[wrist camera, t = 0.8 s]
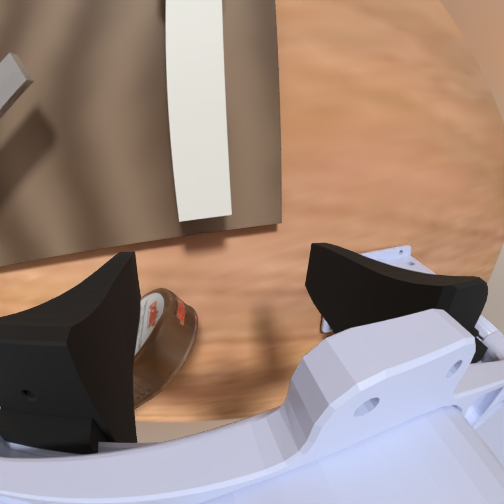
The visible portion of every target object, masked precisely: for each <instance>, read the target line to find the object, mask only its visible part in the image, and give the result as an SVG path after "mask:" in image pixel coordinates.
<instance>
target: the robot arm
mask: <svg viewBox="0 0 504 504" xmlns="http://www.w3.org/2000/svg"><path fill="white" fill-rule="evenodd" d="M410 254H411V247H410V246H409V245H404V246H399V247H393V248H388V249H383V250H377V251H372V252H366V253H361V254H358V253H355V252H353V251H350V250H347V249H344V248H342V247H339V246H336V245H332V244H328V243H312V244H311V251H310V258H309V264H308V270H307V276H306V282H305V286H306V289H307V291H308V293H309V295H310V297H311V299H312V301H313V303H314V305H315V306H316V308H317V309H318V310H319V312H320V313H321V315H322V316H323V318H322V326H321V330H322V331H323V332H324V333H327V332H331V331H333V332H334V333H335V334H334V335H332V336H329V337H327V338H324V339H323V340H322V341H321V342H320V343H319V344H317V345H316V346H315V347H314V348H313V349H311V350H310V351H309V352H308V353H306V354H305V355H304V356H303V358H302V360H301V361H300V363H299V365H298V367H297V369H296V370H295V372H294V374H293V376H292V377H291V381H290V385H289V389H288V394H287V397H286V399H285V402H284V403H283V404H282V405H281V406H278V407H276V408H273V409H270V410H268V411H265V412H262V413H260V414H257V415H254V416H251V417H248V418H245V419H243V420H240V421H237V422H234V423H231V424H227V425H224V426H221V427H218V428H214V429H211V430H207V431H204V432H201V433H197V434H193V435H189V436H185V437H181V438H178V439H173V440H169V441H165V442H158V443H137V436H136V426H135V414H134V394H133V366H134V356H135V349H136V342H137V335H138V329H139V322H140V309H141V295H140V288H139V281H138V273H137V265H136V256H135V252H120V253H118V254H116V255H115V256H114V257H113V258H111V259H110V260H109V261H108V262H107V263H105V264H104V265H103V266H102V267H101V268H99V269H98V270H97V271H96V272H94V273H93V274H92V275H90V276H89V277H88V278H86V279H85V280H84V281H82V282H81V283H80V284H78V285H77V286H75V287H74V288H72V289H70V290H69V291H67V292H65V293H63V294H62V295H60V296H58V297H56V298H53V299H51V300H49V301H47V302H45V303H43V304H41V305H38V306H36V307H33V308H31V309H28V310H25V311H22V312H19V313H15V314H11V315H7V316H3V317H0V407H1V409H0V504H504V335H503V334H502V333H501V332H500V331H499V330H498V329H497V328H495V327H494V326H493V325H492V324H491V323H490V322H489V321H488V320H487V319H485V318H484V317H483V316H482V315H481V312H482V310H483V308H484V305H485V303H486V300H487V295H488V286H487V283H486V282H485V281H484V280H482V279H481V278H480V277H474V276H445V275H437V274H435V273H434V272H433V271H431V270H430V269H428V268H427V267H426V266H424V265H423V264H421V263H420V262H418V261H417V260H416V259H414V258H413V257H411V256H410Z"/></svg>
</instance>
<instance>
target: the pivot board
mask: <svg viewBox="0 0 504 504" xmlns="http://www.w3.org/2000/svg"><path fill="white" fill-rule="evenodd" d="M222 19H223V49H224V75H225V98H226V119H227V139H228V158H229V175H230V192H231V209H232V215H227V216H219V217H211V218H203V219H196V220H189V221H181V222H179V215H178V207H177V199H176V190H175V181H174V172H173V161H172V150H171V139H170V126H169V111H168V94H167V71H166V0H0V62H1V61H2V60H3V59H4V58H5V57H6V56H7V55H8V54H9V53H13V54H16V55H18V57H19V58H20V60H21V61H22V63H23V65H24V66H25V68H26V69H27V71H28V73H29V74H30V76H31V77H32V79H33V80H34V82H33V83H32V84H31V85H30V86H29V87H28V88H27V89H26V90H25V92H24V93H23V94H22V95H21V96H20V97H19V98H18V99H17V100H16V101H15V103H14V104H13V105H12V106H11V107H10V108H9V109H8V111H7V112H6V113H5V114H4V115H3V117H2V118H1V119H0V266H5V265H10V264H16V263H21V262H27V261H32V260H38V259H43V258H49V257H54V256H60V255H66V254H72V253H78V252H84V251H90V250H96V249H102V248H108V247H114V246H121V245H127V244H134V243H140V242H147V241H153V240H160V239H167V238H174V237H181V236H188V235H195V234H202V233H209V232H216V231H224V230H231V229H239V228H247V227H254V226H262V225H270V224H278V223H282V190H281V128H280V93H279V67H278V45H277V26H276V9H275V0H222Z"/></svg>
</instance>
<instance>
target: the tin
mask: <svg viewBox="0 0 504 504" xmlns="http://www.w3.org/2000/svg"><path fill="white" fill-rule="evenodd" d="M197 326H198V317H197V313H196V311H195V310H194V309H193V308H192V307H191V306H189V305H186V304H185V303H184V302H183V301H182V300H181V299H179V298H178V297H177V296H176V295H175V294H173V293H172V292H171V291H169V290H167V289H164V288H159V289H155V290H153V291H151V292H149V293H147V294H146V295H144V296H143V297H142V298H141V309H140V322H139V329H138V335H137V342H136V349H135V356H134V366H133V394H134V410H135V409H136V408H138V407H139V406H141V405H142V404H144V403H145V402H147V401H148V400H150V399H151V398H153V397H154V396H156V395H157V394H158V393H160V392H161V391H162V390H163V389H164V388H165V387H166V386H167V385H168V384H169V383H170V382H171V381H172V379H173V378H174V377H175V376H176V374H177V373H178V371H179V370H180V368H181V367H182V365H183V364H184V362H185V361H186V359H187V357H188V355H189V353H190V351H191V348H192V346H193V344H194V341H195V337H196V333H197Z"/></svg>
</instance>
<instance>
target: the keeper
mask: <svg viewBox="0 0 504 504" xmlns="http://www.w3.org/2000/svg"><path fill="white" fill-rule="evenodd" d="M33 82H34V80H33V79H32V77H31V76H30V74H29V73H28V71H27V69H26V68H25V66H24V65H23V63H22V61H21V60H20V58H19V57H18V55H16V54H13V53H9V54H8V55H7V56H6V57H5V58H4V59H3V60H2V61H1V62H0V119H1V118H2V117H3V115H4V114H5V113H6V112H7V111H8V109H9V108H10V107H11V106H12V105H13V104H14V103H15V101H16V100H17V99H18V98H19V97H20V96H21V95H22V94H23V93H24V92H25V90H26V89H27V88H28V87H29V86H30V85H31V84H32V83H33Z"/></svg>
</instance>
